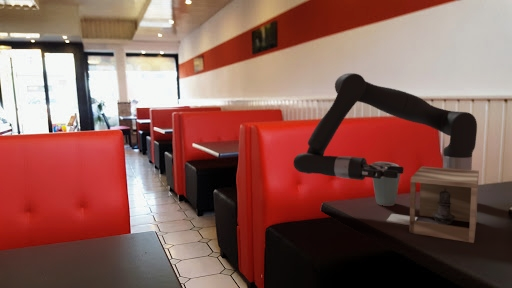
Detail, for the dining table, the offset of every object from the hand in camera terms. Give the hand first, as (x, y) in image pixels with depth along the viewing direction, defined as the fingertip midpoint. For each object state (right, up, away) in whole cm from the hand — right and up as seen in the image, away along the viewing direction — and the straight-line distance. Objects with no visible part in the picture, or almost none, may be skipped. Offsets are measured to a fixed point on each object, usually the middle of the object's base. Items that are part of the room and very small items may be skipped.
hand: (400, 172), depth 118 cm
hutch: (+10, -16, -6) cm, 20 cm away
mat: (+1, -15, +1) cm, 15 cm away
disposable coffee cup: (+2, -13, +19) cm, 23 cm away
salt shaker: (+10, -16, -6) cm, 20 cm away
